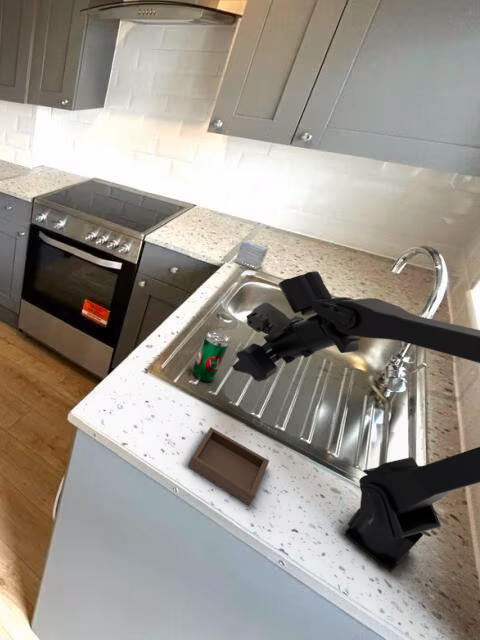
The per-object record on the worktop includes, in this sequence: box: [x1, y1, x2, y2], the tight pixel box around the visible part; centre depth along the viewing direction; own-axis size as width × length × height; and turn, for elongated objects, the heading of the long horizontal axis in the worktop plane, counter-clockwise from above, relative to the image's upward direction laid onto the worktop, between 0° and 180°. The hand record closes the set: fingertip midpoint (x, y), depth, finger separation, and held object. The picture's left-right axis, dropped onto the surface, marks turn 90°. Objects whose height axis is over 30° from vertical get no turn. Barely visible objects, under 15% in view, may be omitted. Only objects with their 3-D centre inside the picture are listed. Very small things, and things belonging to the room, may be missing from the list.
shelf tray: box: [187, 426, 270, 506], centre depth 81 cm, size 11×11×3 cm
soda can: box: [191, 330, 230, 383], centre depth 102 cm, size 5×5×12 cm
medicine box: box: [234, 239, 269, 271], centre depth 163 cm, size 8×4×9 cm, turn 34°
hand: (247, 359), depth 92 cm, fingers open, 9 cm apart
